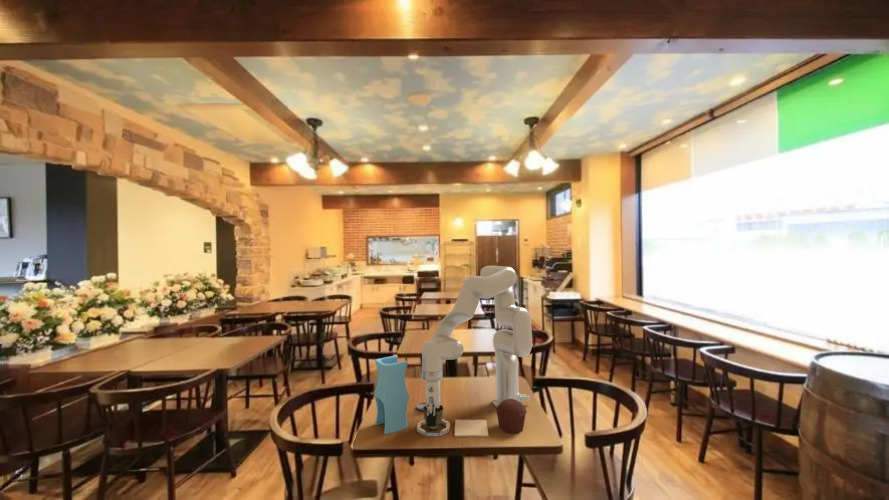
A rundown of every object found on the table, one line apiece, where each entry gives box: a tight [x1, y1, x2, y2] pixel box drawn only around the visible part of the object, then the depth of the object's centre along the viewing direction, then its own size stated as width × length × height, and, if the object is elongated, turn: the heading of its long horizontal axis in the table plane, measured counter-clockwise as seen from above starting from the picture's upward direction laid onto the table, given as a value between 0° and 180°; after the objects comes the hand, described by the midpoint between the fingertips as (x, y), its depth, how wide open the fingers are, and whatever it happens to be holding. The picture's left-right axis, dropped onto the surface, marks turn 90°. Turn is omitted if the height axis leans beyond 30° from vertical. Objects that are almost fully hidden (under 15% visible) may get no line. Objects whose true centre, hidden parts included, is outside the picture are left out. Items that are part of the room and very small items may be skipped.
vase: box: [373, 354, 410, 435], centre depth 148 cm, size 10×10×25 cm
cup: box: [422, 404, 444, 431], centre depth 146 cm, size 8×7×8 cm
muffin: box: [495, 399, 528, 434], centre depth 145 cm, size 12×11×10 cm
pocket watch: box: [416, 402, 426, 411], centre depth 164 cm, size 8×8×10 cm
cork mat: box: [454, 419, 489, 438], centre depth 145 cm, size 12×12×1 cm
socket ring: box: [416, 418, 451, 437], centre depth 146 cm, size 12×12×1 cm
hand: (432, 420), depth 146 cm, fingers open, 9 cm apart
